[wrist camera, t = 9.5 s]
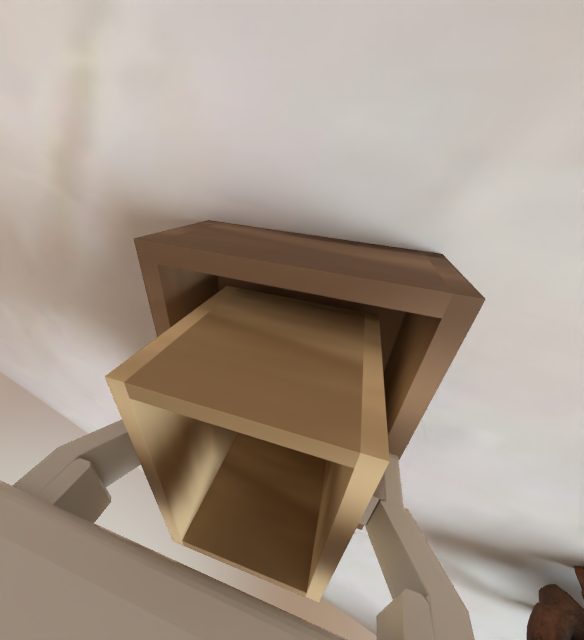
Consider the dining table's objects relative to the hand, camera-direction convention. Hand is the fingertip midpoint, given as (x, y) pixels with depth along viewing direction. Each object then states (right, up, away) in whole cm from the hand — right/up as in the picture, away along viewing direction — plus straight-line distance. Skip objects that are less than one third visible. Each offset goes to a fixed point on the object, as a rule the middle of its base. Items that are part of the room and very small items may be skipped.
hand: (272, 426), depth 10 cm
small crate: (+1, +1, +2) cm, 2 cm away
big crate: (+1, +2, +4) cm, 5 cm away
